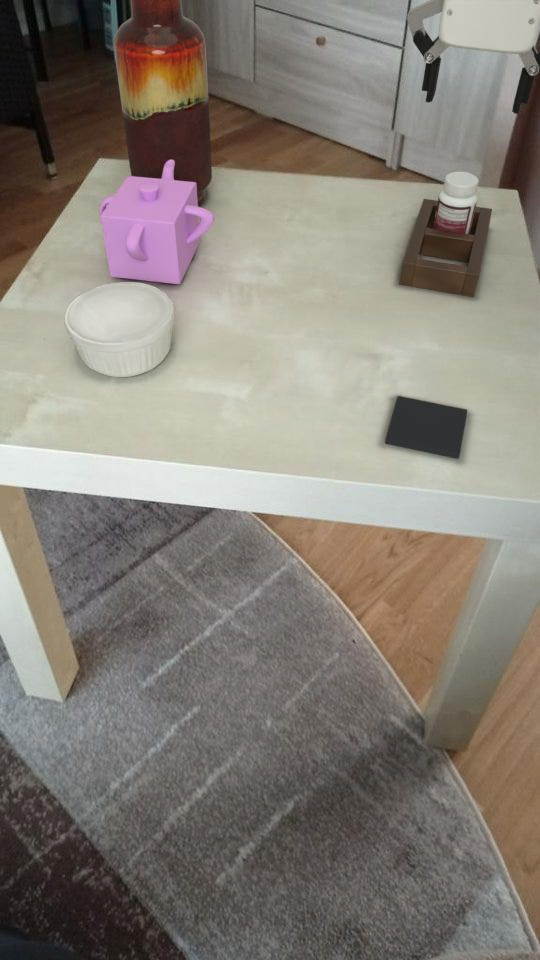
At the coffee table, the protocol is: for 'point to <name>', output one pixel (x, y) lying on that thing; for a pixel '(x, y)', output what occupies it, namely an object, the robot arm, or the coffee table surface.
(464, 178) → the pill bottle
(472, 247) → the holder
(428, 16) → the robot arm
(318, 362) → the coffee table surface
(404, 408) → the mat
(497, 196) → the coffee table surface
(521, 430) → the coffee table surface
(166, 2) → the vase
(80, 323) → the ramekin
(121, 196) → the teapot
